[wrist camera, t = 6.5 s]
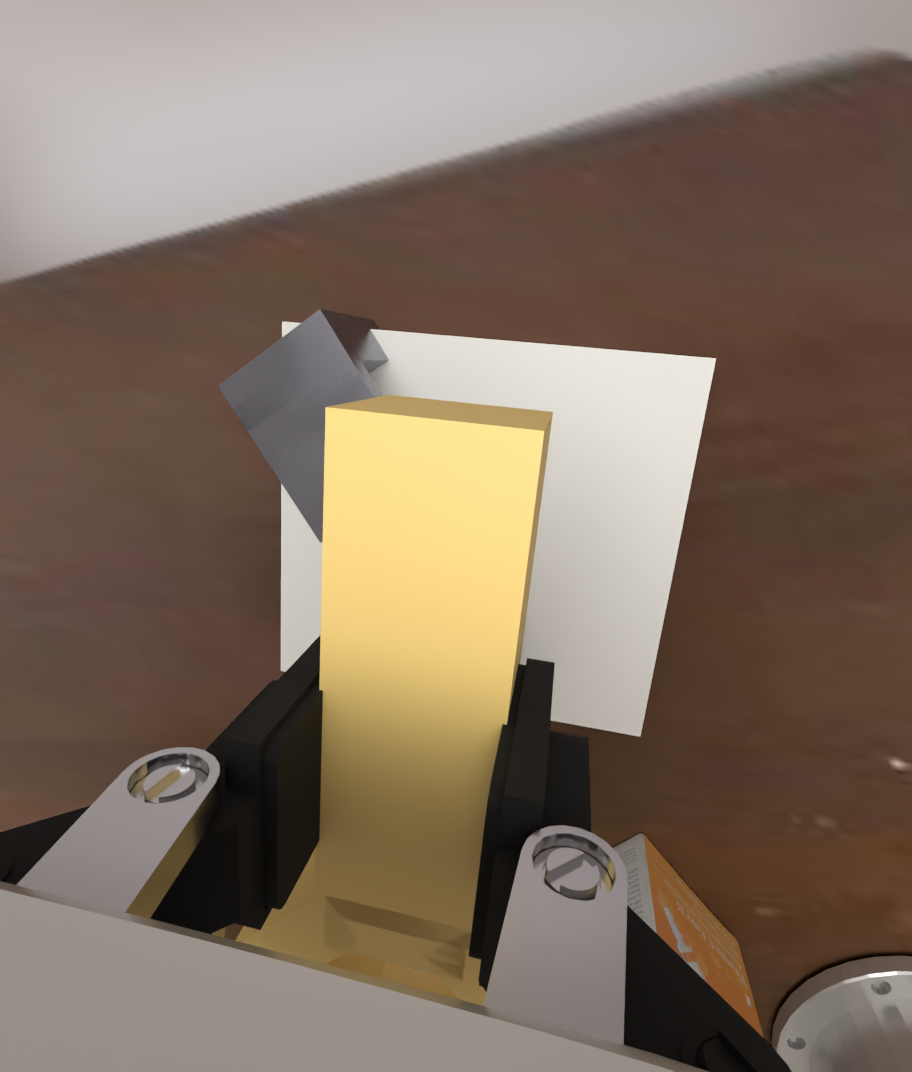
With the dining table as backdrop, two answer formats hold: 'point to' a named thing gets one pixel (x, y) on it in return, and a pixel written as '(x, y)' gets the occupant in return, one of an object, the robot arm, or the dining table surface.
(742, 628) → the dining table surface
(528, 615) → the board
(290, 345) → the block
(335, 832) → the link
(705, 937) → the small box
